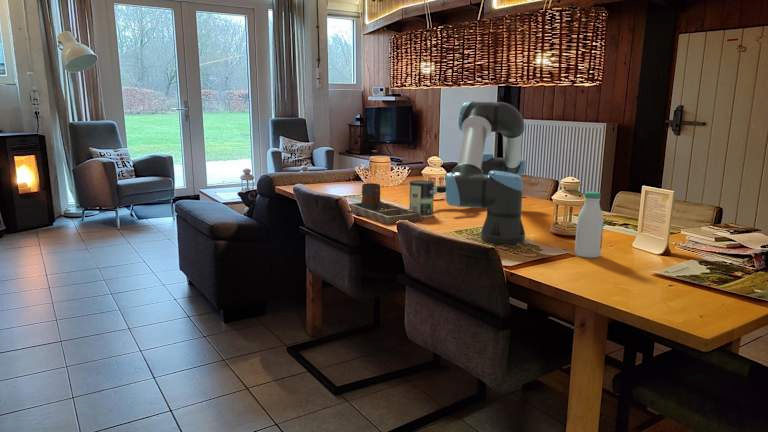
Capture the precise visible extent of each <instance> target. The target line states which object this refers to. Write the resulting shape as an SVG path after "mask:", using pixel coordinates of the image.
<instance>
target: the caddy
mask: <svg viewBox="0 0 768 432" xmlns="http://www.w3.org/2000/svg"><path fill="white" fill-rule="evenodd" d="M380 201H381V200H380ZM348 204H349V206H350V208H351V211H352V212H351V211H350V212H351V213H353V212H355V213H354V214H356V213H358V214H357V215H359V214H360V215H359V216H362V217H365V218H368V219H370V220H373V221H375V222H376V221H377V222H379V223H382V224H384V225H387V226H388V225H396V222H397V221H399V220H408V221H411V222H410V223H413V222H421V221H422V217H421V214H422V213H419V212H415V211H412V210H409V208H405V207H401V206H397V205H395V204H393V203H388V202H385V201H381V208H383V209H386V210H383V209H381V210H380V211H371V210H368V209H365V208H362V207H361V202H354V203H348Z"/></svg>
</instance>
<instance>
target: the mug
mask: <svg viewBox="0 0 768 432" xmlns="http://www.w3.org/2000/svg"><path fill="white" fill-rule="evenodd" d="M360 203H361V207H362V208H365V209H368V210H371V211H380V210H382V209H381V185H380V184H379V183H374V182H373V183H363V184H362V187H361V202H360Z"/></svg>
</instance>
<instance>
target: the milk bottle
mask: <svg viewBox="0 0 768 432" xmlns="http://www.w3.org/2000/svg"><path fill="white" fill-rule="evenodd" d="M601 195H602V194H601V192H599V191H591V190H590V191H585V192H584V203H583V205H582V208H581V210H580V211H579V213H578V216H577V221H576V228H575V232H576V233H575V243H574V254H575V256H578V257H582V258H588V259H589V258H590V259H596V258H600V257H601V252H602V243H603V233H604V231H603V230H604V214H603V212H602V208H601V206H600V205H601V204H600V201H601Z"/></svg>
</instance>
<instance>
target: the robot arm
mask: <svg viewBox="0 0 768 432" xmlns="http://www.w3.org/2000/svg"><path fill="white" fill-rule="evenodd" d="M458 128H459V130H460V131H461V132H462V134H463V137H462V142H461V147H460V152H459V157H458V161H457V165H456V166H455V167H454V168H453V169H452V170H451V172H448V173H446V174H445V185H434V195H436V194H438V193H445V197H446V198H445V199H446V203H447V204H448V205H449V206H451V207H457V208H473V209H474V208H477V209H486V217H485V220H484V223H483V224H482V228H481V230H480V239H481V240H483V241H484V242H485V241H486V242H488V243H494V244H501V245H504V244H505V245H506V244H507V245H512V244H513V245H514V244H520V243H524V242H525V240H526V232H525V228H524V225H523V221H522V209H523V208H522V207H523V192H524V180H523V177H521V176H523V175H525V171H526V159H524V158H522V135H523V134H524V132H525V121H524V118H523V116H522V114H521V113H520V112H519V110H518V109H517V108H516V107H514V106H513V105H512V104H510V103H507V102H504V101H503V102H502V101H475V100H474V101H466V102H464V103H463V104H462V105H461V106H460V110H459V115H458ZM498 132H499V133H500V134H501V135H502V148H503V149H502V151H503V152H502V155H503V157H494V154H493V153H490V152H485V146H486V140H487V138H488V137H489V136H490V135H491V133H498Z"/></svg>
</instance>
